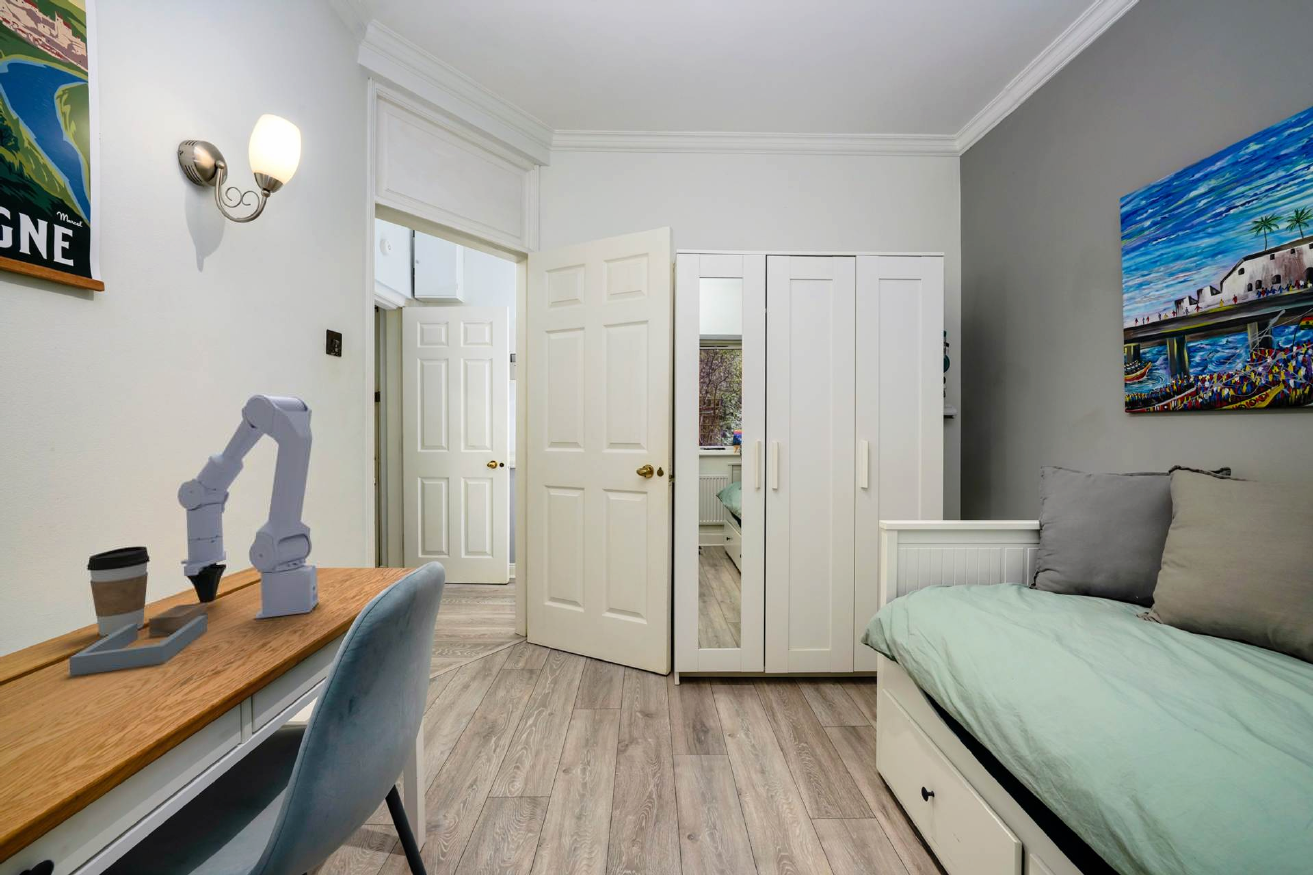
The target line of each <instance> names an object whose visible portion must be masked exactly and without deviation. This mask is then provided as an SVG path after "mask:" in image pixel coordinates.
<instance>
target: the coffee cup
mask: <svg viewBox="0 0 1313 875" xmlns="http://www.w3.org/2000/svg"><path fill="white" fill-rule="evenodd" d="M149 562H150V556H149V553H148V549H147V547H146V546H141V545H140V546H138V545H137V546H129V547H121V548H117V549H116V548H115V549H112V550H108V551H105V552H104V551H103V552H101V553H97V554H93V555H91V556H90V557H89V560H88V564H87V565H86V567H87V569H86V570H87V571H89V572H90V578H91V580H90V581H89V582H90V587H91V594H92V600H93V605H94V610H95V615H96V620H97V629H98V634H99V635H100V636H102V637H107V636H106V635H110V634H112V633H114V632H116V631H118V630H119V629H121V628H123V627H125V626H126V625H128V624H134V623H137V628H138V630H140V629H141V628H143V627H144V624H145V623H144V622H145V621H144V620H145V619H144V618H145V607H146V599H147V597H146V596H147V587H148V586H147V584H148V577H149V576H148V575H149V572H147V570H148V563H149Z"/></svg>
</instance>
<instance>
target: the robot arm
mask: <svg viewBox="0 0 1313 875" xmlns="http://www.w3.org/2000/svg"><path fill="white" fill-rule="evenodd" d="M245 404H246V405H245V406H243V408H242V409H241V417H242V420H241V422H240V424H239V426H238V427H237V429H236V430H235V432H234V433H233V435H232V436H231V438H230V440H229V441H228V444H227V445H226V447H225V448H224V450H223V451H218V452H216V453H215V452H214V453H213V454H211V455H210V456H209V457H208V461H207V462H206V464H205V465H204V466H203V468H202V469H201V470H200V472H199V473H198V474H197V475H196V477H194V478H192V479H191V480H188V481H184V482H183V483H181V485H180V487H179V489H178V492H177V499H178V503H179V504H180V505H181V507H182V508H184V509H185V510H186V530H187V531H186V533H187V534H186V535H187V558H186V559H183V560H181V561H180V564H181V565H184V566H183V575H184V577H186V578H187V579H188V580H189V581H190V582H191V584H192V586H193V587H194V589H195V592H196V595H197V598H198V601H199V604H201V603H207V604H208V603H212V602H214V601H215V600H216V597H217V593H218V588H219V585H220V582H221V581H220V580H221V578H222V577H223V573H224V572H225V570H226V569H227V564H225V563H223V564H218V563H220V562H223V561H226V560H227V551H226V550H224V537H223V536H224V534H223V514H224V513H225V507H226V506H225V505H226V503H227V501H229V496H230V492H229V491H228V488H229V487H230V486H231V485H232V484H233V482H234V481H235V480H236V478H237V477H238V475H239V474H240V473H241V472H242V470H243V469H244V462H243V458H244V457H245V456H246V455H247V454H248V453H249V452H250V451H251V450H252V448H253V447H254V446H255V445H256V444H257V443H258V441H259V440H261V438H262V437H263V436H264V435H267V436H268V437H270V438H272V439H273V440H274V441H275V442H276V443H277V444H278V449H277V455H276V462H275V469H274V470H275V471H274V477H273V484H272V492H271V498H270V506H269V513H268V520H267V522H265V523H264V524H263V525H262V526H260V528H259V529H258V530H256V533H255V539H254V541H253V543H252V544H251V546H250V547H249V552H248V557H249V562H250V563H251V565H252V566H253V567H254V568H255V569H256V572H258V573H260V588H261V589H260V590H261V593H260V594H261V596H260V598H261V610H260V611H258V613H257V614H255V615H254V616H253V618H254V619H262V618H272V617H280V616H288V615H290V616H291V615H297V614H307V613H310V612H311V611H312V610H313V609H314V607H316V605H317V604H318V603H319V602H320V601H319V600H320V599H319V592H318V590H319V588H318V571H317V567H316V565H314V564H313V565H308V564H307V563H306V562H307V561H306V560H307V558H308V557H309V556H310V554H311V552H312V550H313V549H312V548H313V543H312V540H311V527H309V526H308V525H307V524H305V523H303V521H302V513H303V508H304V502H305V501H304V500H305V494H306V486H307V479H308V478H307V477H308V473H309V472H308V471H309V466H310V465H309V464H310V458H311V451H312V450H311V449H312V444H313V434H312V429H311V420H312V414H313V410H312V409H311V407H310V406H309V405H308V404H307V403H306V401H305V400H303V399H302V398H301V397H297V396H290V397H289V396H274V395H265V394H254V395H252V396H251V397H250V398H248V400H247V402H246V403H245ZM305 564H307V565H305Z"/></svg>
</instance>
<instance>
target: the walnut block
mask: <svg viewBox="0 0 1313 875" xmlns="http://www.w3.org/2000/svg"><path fill="white" fill-rule="evenodd" d="M203 615H207V616H208V602H207V603H192V604H191V603H190V604H179V605H178V604H177V605H176V606H173V607H171V608H169V609H167V610H164V611H163V612H161V613H159V614H157V615H155V616H152V617H150V618H148V630H149V632H148V634H149V635H148V636H149V638H151V637H160V636H161V637H163V636H171V635H172V634H173V633H175V632H176V631H178V630H179V629H181V628H182V627H184V626H185V625H187V624H188V623H189V622H191V621H192V620H194V619H195V618H197V617H198V616H203ZM207 620H208V617H207Z"/></svg>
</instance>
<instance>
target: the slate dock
mask: <svg viewBox="0 0 1313 875" xmlns="http://www.w3.org/2000/svg"><path fill="white" fill-rule="evenodd" d="M207 618H208V614H207V615H203V616H198V617H197V618H195V619H194V620H192V621H191V622H189V623H188V624H187V625H185V626H184V627H182V628H181V629H179V630H178V631H176V632H175V633H173V634H172V635H168V636H167V637H166V638H164V639H163V640H162V641H161V642H159V643H158V644H157V643H156V644H151V645H150V644H149V645H142V646H133V647H127V646H128V645H130V644H131V643H134V642H135V641H136V640H138V638H139V631H138V630H139V629H138V628H137V623H134V624H128V625H126V626H125V627H123V628H121V629H119V630H118V631H116V632H114V633H112V634H110V635H109V636H104V637H103V638H102V639H100V640H98V641H96V642H94V643H93V644H91V645H89V646H88V647H86V648H84V649H82V650H81V651H78V652H77V653H75V654H74V655H72V656H70V657H69V676H70V677H73V676H74V677H75V676H79V675H80V676H81V675H88V674H94V673H101V672H102V673H104V672H109V671H117V670H125V669H131V668H139V667H145V666H146V667H147V666H152V665H153V666H154V665H160V664H165V663H166V662H168V661H169V660H170V659H171V658H173V657H174V656H175V655H176V654H179V653H180V651H182V650H183V649H184V648H186V647H187V646H189V645H190V644H191V643H193V642H194V641H195V640H196V639H198V638H199V637H201V636H202V635H203V634H204V633H206V632H207V631H208V619H207ZM125 647H126V648H125Z"/></svg>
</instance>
